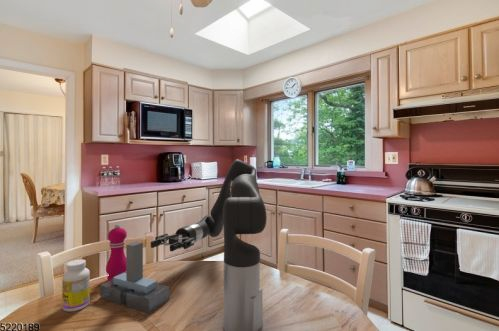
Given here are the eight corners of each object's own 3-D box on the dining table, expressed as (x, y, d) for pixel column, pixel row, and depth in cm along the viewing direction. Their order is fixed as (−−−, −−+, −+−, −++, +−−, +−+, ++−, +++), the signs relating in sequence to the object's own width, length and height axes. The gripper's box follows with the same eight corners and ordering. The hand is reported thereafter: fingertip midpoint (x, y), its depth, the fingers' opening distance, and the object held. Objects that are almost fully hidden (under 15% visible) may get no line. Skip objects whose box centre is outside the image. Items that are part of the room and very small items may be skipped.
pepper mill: (119, 285, 88) (119, 226, 88) (100, 283, 90) (100, 225, 90) (132, 276, 95) (132, 221, 95) (115, 274, 97) (115, 220, 97)
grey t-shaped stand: (156, 298, 79) (156, 244, 79) (146, 305, 75) (146, 248, 75) (124, 289, 85) (124, 238, 84) (113, 294, 81) (113, 242, 81)
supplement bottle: (61, 305, 76) (61, 261, 76) (87, 297, 80) (87, 256, 80) (63, 315, 71) (63, 268, 71) (91, 307, 75) (91, 262, 75)
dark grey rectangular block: (169, 299, 79) (169, 286, 79) (149, 313, 72) (149, 299, 72) (122, 286, 87) (122, 274, 87) (100, 297, 80) (100, 284, 80)
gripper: (175, 223, 107) (145, 233, 93) (204, 227, 102) (177, 238, 87) (175, 241, 108) (145, 254, 93) (204, 246, 102) (177, 260, 87)
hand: (160, 246), depth 90 cm, fingers open, 8 cm apart
